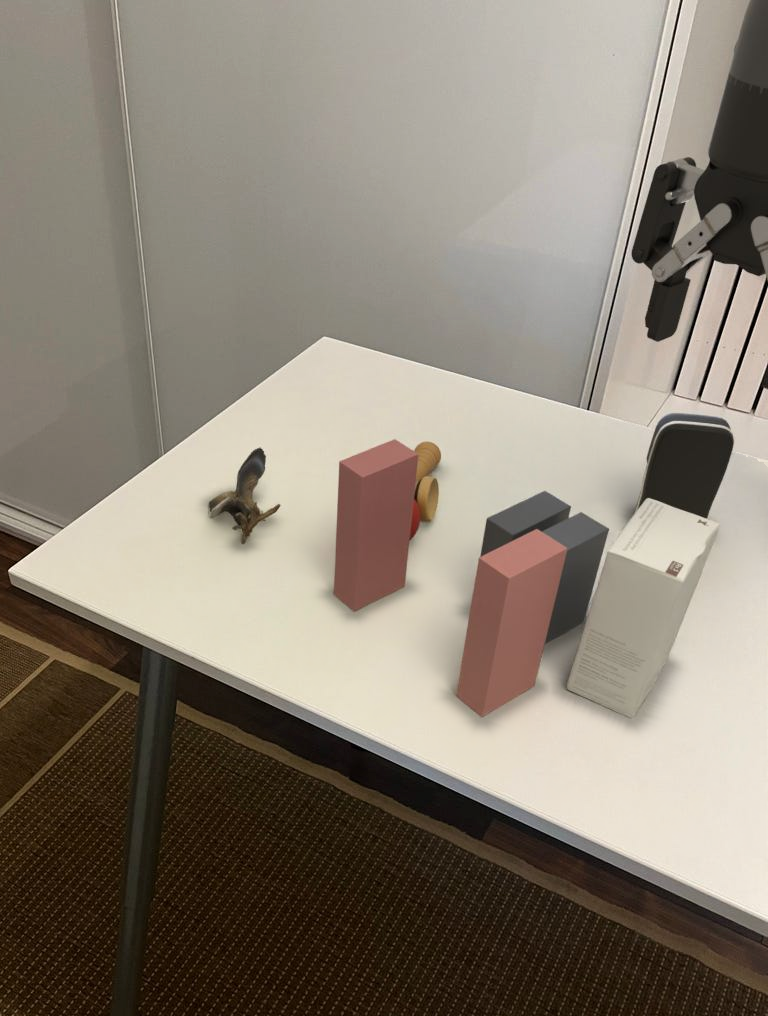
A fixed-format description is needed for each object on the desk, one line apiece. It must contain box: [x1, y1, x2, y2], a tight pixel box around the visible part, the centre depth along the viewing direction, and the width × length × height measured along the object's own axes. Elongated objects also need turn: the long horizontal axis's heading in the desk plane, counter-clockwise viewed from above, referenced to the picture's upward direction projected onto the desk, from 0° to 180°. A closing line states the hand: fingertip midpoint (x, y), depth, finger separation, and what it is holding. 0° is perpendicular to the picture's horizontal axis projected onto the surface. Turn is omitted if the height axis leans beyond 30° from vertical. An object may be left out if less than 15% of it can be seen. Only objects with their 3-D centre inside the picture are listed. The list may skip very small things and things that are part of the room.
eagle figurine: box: [208, 446, 281, 545], centre depth 95 cm, size 8×7×9 cm
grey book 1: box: [479, 490, 572, 557], centre depth 84 cm, size 7×3×10 cm, turn 126°
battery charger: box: [633, 412, 735, 519], centre depth 93 cm, size 7×4×11 cm, turn 78°
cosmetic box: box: [566, 498, 721, 719], centre depth 75 cm, size 8×6×15 cm
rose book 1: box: [333, 438, 419, 612], centre depth 84 cm, size 6×3×14 cm, turn 126°
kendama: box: [410, 441, 442, 541], centre depth 97 cm, size 8×6×18 cm
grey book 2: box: [542, 511, 610, 645], centre depth 81 cm, size 7×3×10 cm, turn 126°
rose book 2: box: [455, 529, 567, 718], centre depth 74 cm, size 6×3×14 cm, turn 126°
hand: (715, 360), depth 62 cm, fingers open, 8 cm apart
